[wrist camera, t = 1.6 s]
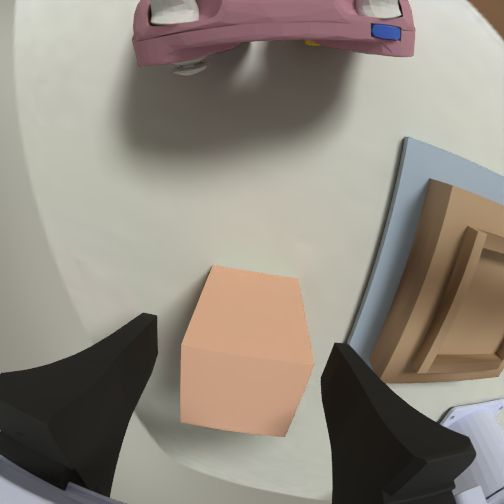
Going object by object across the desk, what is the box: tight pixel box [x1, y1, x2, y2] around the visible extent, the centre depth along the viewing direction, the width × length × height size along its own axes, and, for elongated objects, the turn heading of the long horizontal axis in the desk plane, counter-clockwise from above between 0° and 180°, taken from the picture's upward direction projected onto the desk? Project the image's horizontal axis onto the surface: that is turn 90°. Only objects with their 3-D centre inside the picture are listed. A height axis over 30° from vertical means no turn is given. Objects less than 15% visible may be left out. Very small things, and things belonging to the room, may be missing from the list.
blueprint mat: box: [346, 137, 504, 372], centre depth 14 cm, size 13×13×1 cm
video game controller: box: [132, 0, 415, 76], centre depth 8 cm, size 10×5×7 cm, turn 95°
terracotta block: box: [180, 265, 314, 437], centre depth 12 cm, size 4×4×6 cm
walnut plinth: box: [369, 178, 504, 383], centre depth 12 cm, size 10×10×3 cm
